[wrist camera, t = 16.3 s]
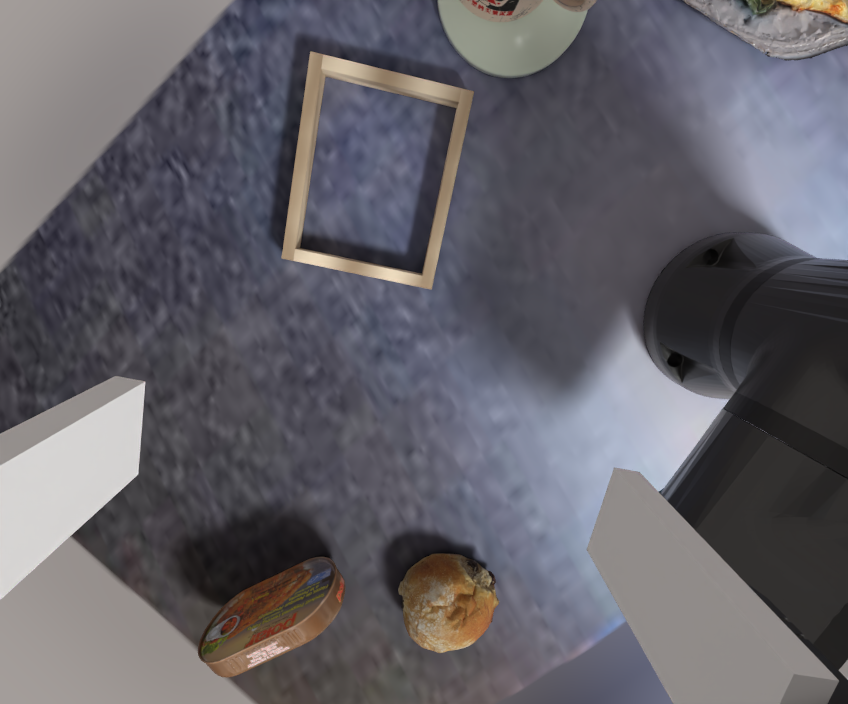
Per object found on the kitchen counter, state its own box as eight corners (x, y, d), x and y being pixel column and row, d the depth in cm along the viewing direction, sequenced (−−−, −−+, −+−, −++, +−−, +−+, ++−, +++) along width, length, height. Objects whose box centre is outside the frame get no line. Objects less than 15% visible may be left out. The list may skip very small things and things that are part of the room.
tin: (339, 544, 50) (326, 605, 42) (354, 567, 51) (344, 631, 43) (215, 601, 51) (179, 672, 43) (231, 623, 52) (199, 696, 44)
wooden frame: (470, 98, 40) (474, 91, 38) (430, 286, 44) (431, 289, 42) (315, 60, 39) (310, 51, 37) (287, 256, 43) (281, 258, 41)
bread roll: (407, 533, 54) (373, 584, 47) (495, 541, 50) (471, 599, 43) (425, 605, 57) (395, 664, 50) (510, 619, 52) (490, 686, 45)
